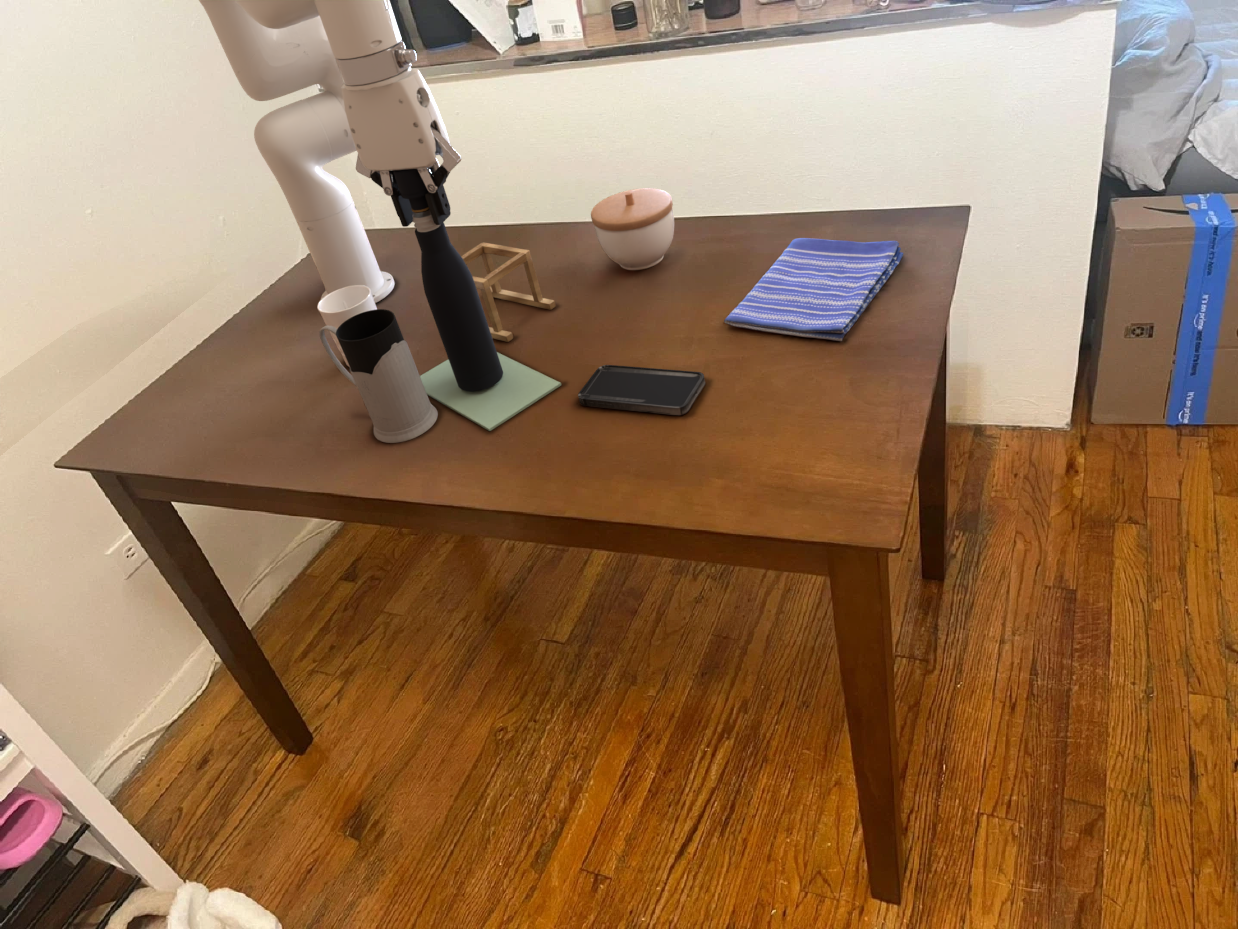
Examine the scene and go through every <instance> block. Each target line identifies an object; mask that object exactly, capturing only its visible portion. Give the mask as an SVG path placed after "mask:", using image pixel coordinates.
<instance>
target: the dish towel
mask: <svg viewBox="0 0 1238 929" xmlns="http://www.w3.org/2000/svg"><path fill="white" fill-rule="evenodd" d="M901 250H902V249H901V247H900V243H899V241H897V240H882V241H869V242H867V241H865V242H861V241H853V240H852V241H851V240H838V239H834V240H833V239H824V238H809V237H799V238H794V239H792V241H791V242H790V243H789V244H788V246H786V248H785V249H784V250H783V252H782V254H781V255H780V256H779V257H778V258H777V259H776V260H775V262H774V263H773V264H772V265H771V267H770V268H769V269H768V270H767V271H766V272H765V274H763V275H762V276H761V278H760V279H759V280H758V281H757V283H755V285H754V286H753V288H752V289H751V290H750V291H749V292H748V293H747V294H746V295H745V297H744V298H742V301H740V302H738V305H737V306H736V307H734V309H732V311H730V313H729V315H727V316H726V317H725V319H724V320H723V323H725V324H726V325H729V326H732V327H736V328H741V329H747V330H752V331H759V332H765V333H773V334H781V335H787V336H795V337H802V338H811V339H821V340H828V341H834V342H835V341H836V342H843V340H844V337H845V336H846V335H847V333H848V332H849V331H850V329H851V328H852V327H853V326H854V325H855V323H856V322H857V321H858V319H859V318H860V317H861V315H862V314H863V313H864V312H865V310H866V309H867V307H868V305H870V303H871V302H872V300H873V299H874V298H875V297H876V295H877V294H878V293H879V292H880V290H881V289H882V287H883V286H884V284H886V282H888V279H889V278H890V277H891V276H892V274H893V273H894V271H895V269H896V268H897V267H898V266H899V264H900V262H901V260H902V258H903V257H904V254H905V253H904V252H901Z"/></svg>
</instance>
